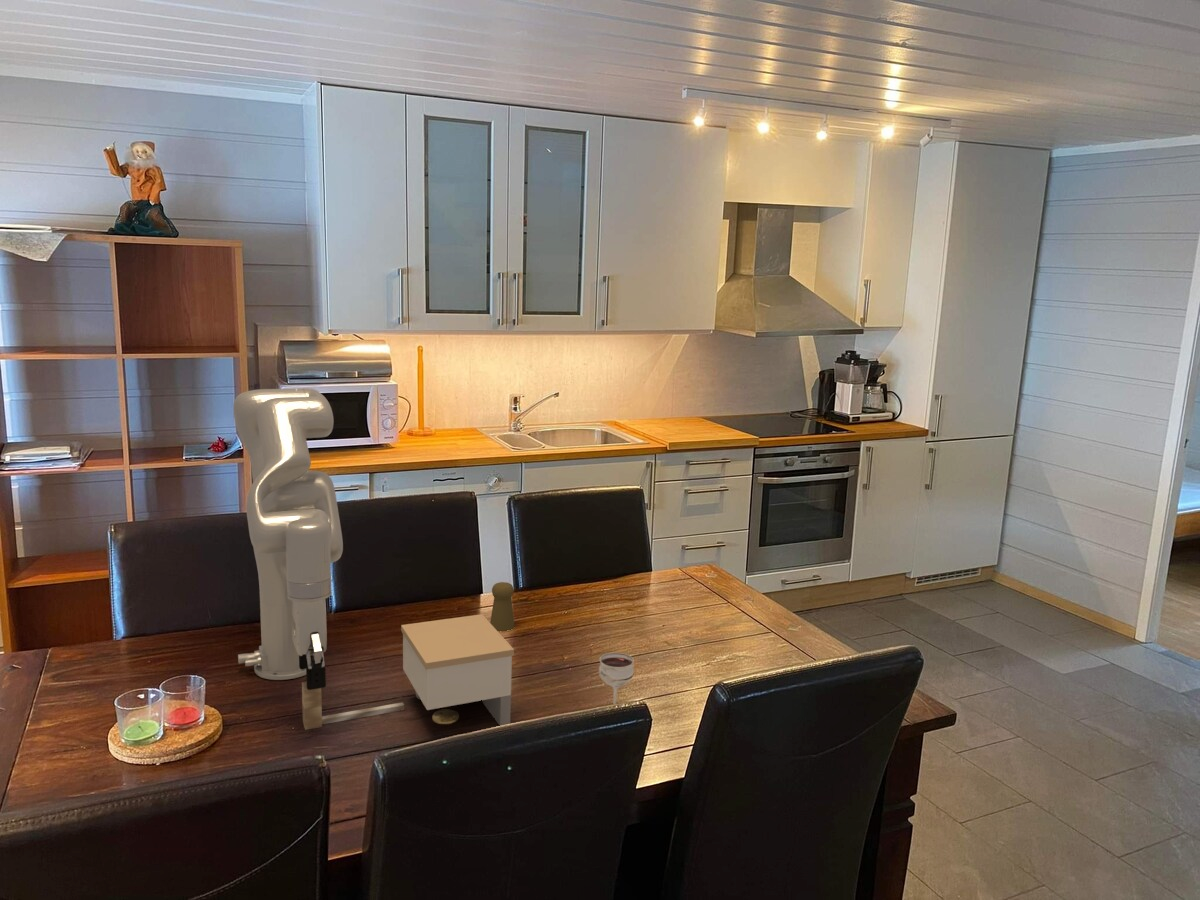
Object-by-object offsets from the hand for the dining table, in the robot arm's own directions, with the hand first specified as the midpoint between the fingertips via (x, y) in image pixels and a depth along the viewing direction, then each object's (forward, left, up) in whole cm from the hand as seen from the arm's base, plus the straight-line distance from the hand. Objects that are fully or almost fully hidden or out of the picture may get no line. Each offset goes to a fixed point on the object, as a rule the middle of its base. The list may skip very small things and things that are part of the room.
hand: (312, 677), depth 160 cm
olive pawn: (+48, +32, -10) cm, 59 cm away
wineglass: (+53, -18, -10) cm, 57 cm away
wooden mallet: (+8, +1, -10) cm, 12 cm away
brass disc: (+23, -6, -10) cm, 26 cm away
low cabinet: (+26, -4, -10) cm, 28 cm away
